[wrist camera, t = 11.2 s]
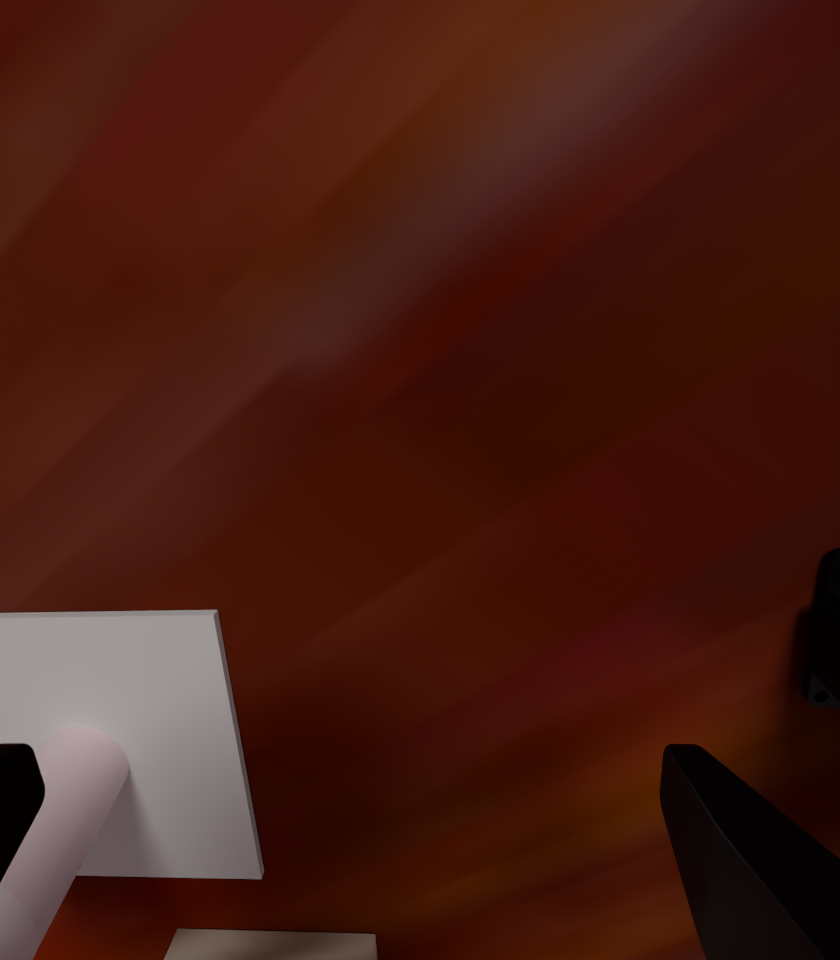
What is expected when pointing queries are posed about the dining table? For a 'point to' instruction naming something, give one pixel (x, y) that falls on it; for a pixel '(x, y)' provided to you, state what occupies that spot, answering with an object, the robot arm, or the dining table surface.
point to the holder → (270, 945)
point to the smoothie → (58, 833)
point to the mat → (141, 732)
